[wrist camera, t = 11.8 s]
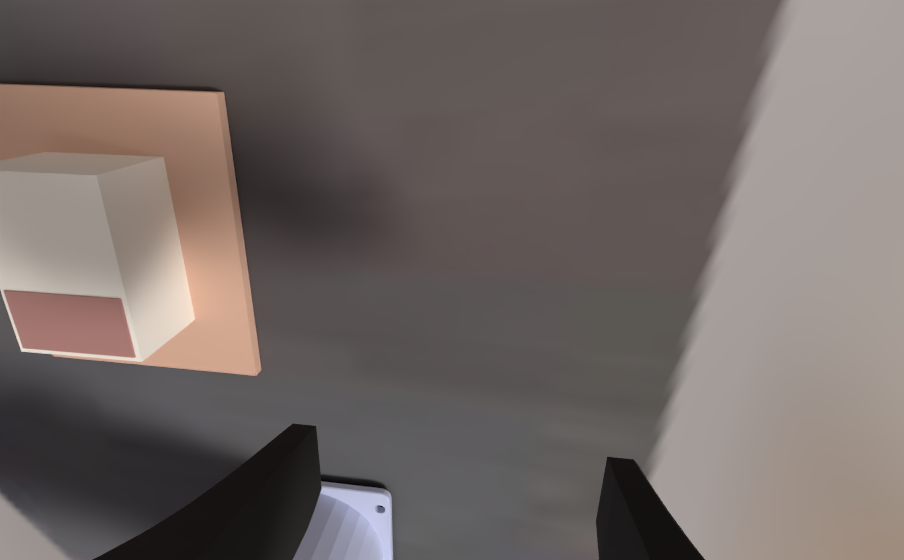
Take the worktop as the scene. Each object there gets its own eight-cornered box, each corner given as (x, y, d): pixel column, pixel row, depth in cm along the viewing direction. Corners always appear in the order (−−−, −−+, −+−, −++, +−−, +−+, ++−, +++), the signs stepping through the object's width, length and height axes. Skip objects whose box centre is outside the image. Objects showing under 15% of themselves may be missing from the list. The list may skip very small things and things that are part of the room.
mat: (261, 369, 24) (256, 375, 24) (61, 350, 25) (52, 356, 25) (223, 91, 20) (217, 92, 19) (-20, 83, 21) (-32, 83, 20)
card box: (163, 156, 20) (94, 175, 17) (194, 319, 23) (140, 362, 20) (45, 151, 21) (-44, 169, 18) (89, 311, 24) (19, 352, 20)
